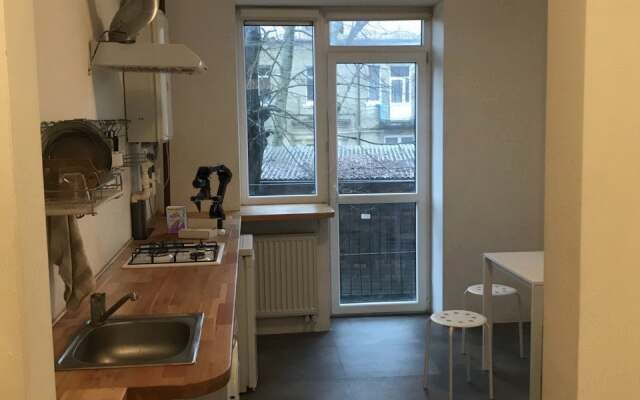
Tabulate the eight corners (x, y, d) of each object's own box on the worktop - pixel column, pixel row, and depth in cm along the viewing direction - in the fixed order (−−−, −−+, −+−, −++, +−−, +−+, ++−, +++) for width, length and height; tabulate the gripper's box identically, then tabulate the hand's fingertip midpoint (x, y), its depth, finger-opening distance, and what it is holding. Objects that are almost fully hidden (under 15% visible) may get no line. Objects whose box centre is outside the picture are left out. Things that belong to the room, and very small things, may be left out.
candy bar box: (167, 234, 407) (165, 208, 403) (170, 232, 412) (167, 206, 408) (185, 234, 406) (183, 207, 402) (188, 231, 411) (185, 205, 407)
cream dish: (216, 233, 406) (216, 229, 406) (227, 233, 404) (226, 229, 404) (211, 235, 400) (211, 230, 399) (222, 235, 398) (222, 231, 397)
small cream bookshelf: (187, 234, 404) (187, 226, 403) (218, 235, 398) (217, 227, 397) (177, 238, 392) (177, 230, 392) (209, 238, 387) (208, 230, 386)
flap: (188, 227, 403) (188, 227, 403) (216, 227, 397) (216, 227, 398) (188, 218, 403) (188, 218, 403) (216, 219, 398) (217, 219, 398)
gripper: (185, 188, 399) (186, 214, 401) (213, 188, 394) (215, 214, 396) (193, 186, 410) (195, 211, 412) (221, 186, 404) (223, 212, 406)
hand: (206, 212), depth 406 cm, fingers open, 9 cm apart
